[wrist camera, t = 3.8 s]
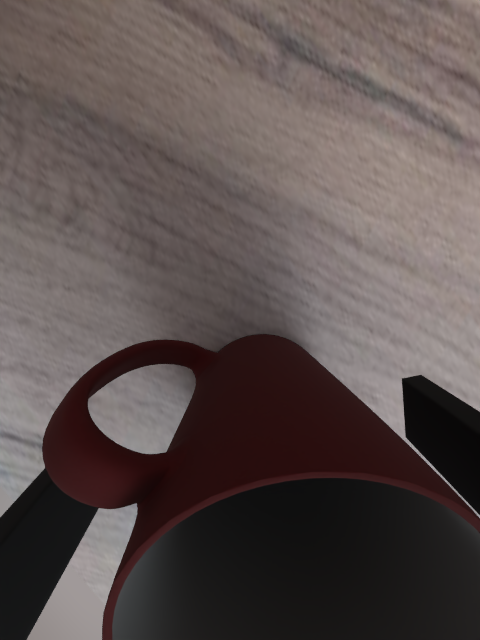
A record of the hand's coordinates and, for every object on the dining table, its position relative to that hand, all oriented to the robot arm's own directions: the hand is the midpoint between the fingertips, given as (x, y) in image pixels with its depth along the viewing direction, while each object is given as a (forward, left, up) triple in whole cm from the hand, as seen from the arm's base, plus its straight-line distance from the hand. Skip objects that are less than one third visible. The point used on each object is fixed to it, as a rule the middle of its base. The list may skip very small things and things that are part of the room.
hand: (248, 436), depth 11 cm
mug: (0, 0, -6) cm, 6 cm away
